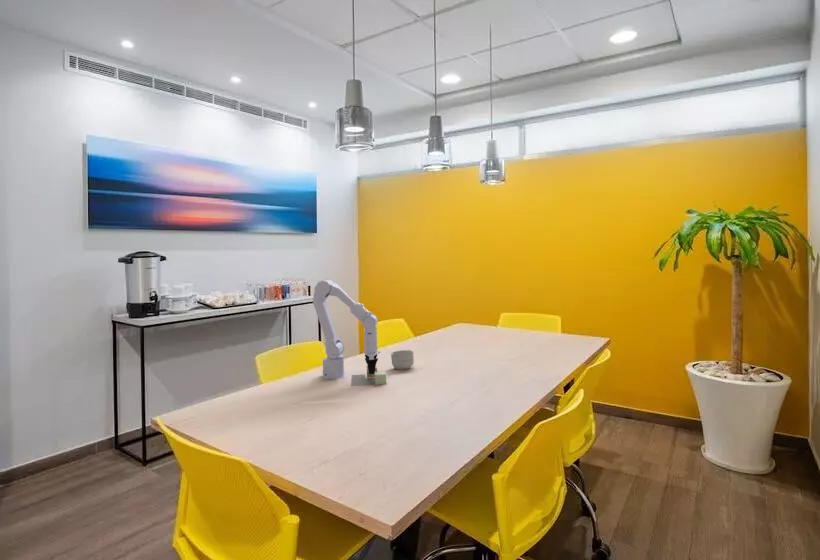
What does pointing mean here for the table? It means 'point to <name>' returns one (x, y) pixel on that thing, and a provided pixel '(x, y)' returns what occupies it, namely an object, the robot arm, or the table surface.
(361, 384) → the baseplate
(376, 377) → the sage block
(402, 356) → the teacup
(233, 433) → the table surface
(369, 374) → the maple block
